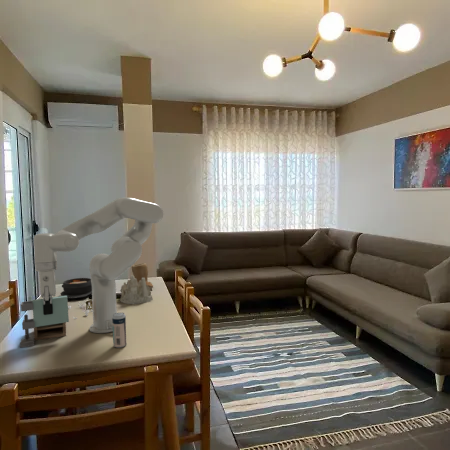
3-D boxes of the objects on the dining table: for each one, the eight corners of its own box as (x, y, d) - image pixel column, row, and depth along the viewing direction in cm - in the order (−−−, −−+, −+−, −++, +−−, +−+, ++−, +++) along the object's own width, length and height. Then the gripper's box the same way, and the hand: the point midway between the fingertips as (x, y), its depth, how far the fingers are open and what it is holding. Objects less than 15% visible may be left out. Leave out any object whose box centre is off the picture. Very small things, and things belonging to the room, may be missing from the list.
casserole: (65, 290, 213) (64, 276, 212) (98, 288, 217) (97, 275, 217) (55, 302, 189) (55, 287, 188) (93, 300, 193) (92, 284, 192)
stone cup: (131, 285, 223) (131, 262, 222) (151, 284, 226) (150, 260, 225) (132, 292, 208) (132, 266, 207) (153, 290, 212) (152, 265, 211)
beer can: (129, 345, 133) (128, 313, 132) (117, 349, 130) (116, 317, 129) (122, 342, 136) (121, 311, 135) (110, 346, 133) (109, 314, 132)
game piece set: (102, 312, 173) (102, 304, 172) (61, 324, 157) (61, 315, 157) (81, 305, 185) (81, 297, 185) (41, 315, 170) (41, 307, 169)
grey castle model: (154, 301, 190) (152, 272, 189) (123, 306, 182) (120, 277, 182) (147, 295, 204) (145, 269, 203) (118, 300, 196) (115, 273, 196)
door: (23, 326, 136) (21, 300, 135) (68, 319, 142) (67, 294, 141) (22, 329, 132) (20, 303, 131) (68, 322, 139) (67, 297, 138)
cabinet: (25, 331, 148) (23, 304, 147) (65, 325, 154) (64, 299, 153) (20, 347, 132) (18, 317, 131) (66, 340, 139) (64, 311, 138)
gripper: (56, 268, 130) (58, 318, 132) (57, 261, 145) (59, 306, 146) (33, 270, 127) (35, 321, 129) (36, 263, 142) (38, 308, 143)
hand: (48, 312), depth 137 cm, fingers closed on door
